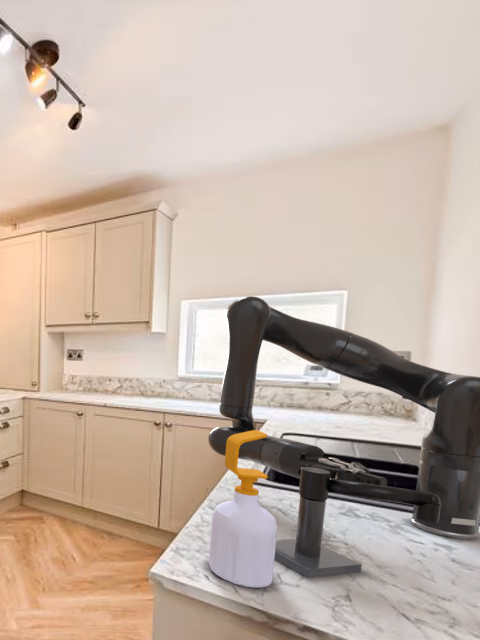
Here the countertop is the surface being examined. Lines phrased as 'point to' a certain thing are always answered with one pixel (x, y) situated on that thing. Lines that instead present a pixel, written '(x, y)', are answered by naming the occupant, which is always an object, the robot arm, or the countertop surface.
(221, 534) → the soap bottle
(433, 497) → the spout
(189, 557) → the countertop surface
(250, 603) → the countertop surface
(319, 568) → the faucet base
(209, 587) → the countertop surface
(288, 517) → the countertop surface
